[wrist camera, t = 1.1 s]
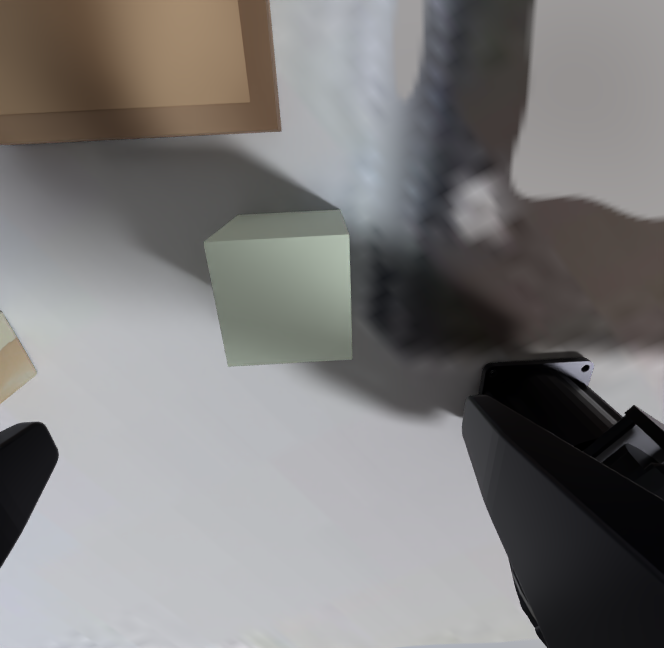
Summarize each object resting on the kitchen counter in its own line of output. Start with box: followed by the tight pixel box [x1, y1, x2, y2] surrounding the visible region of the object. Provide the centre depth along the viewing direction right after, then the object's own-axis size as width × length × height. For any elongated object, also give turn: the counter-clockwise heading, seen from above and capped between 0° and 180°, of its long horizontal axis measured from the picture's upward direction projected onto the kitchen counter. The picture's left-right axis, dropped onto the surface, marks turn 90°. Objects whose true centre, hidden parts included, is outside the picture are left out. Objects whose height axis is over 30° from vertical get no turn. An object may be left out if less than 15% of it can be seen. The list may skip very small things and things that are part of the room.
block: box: [203, 209, 352, 367], centre depth 16 cm, size 5×5×6 cm
